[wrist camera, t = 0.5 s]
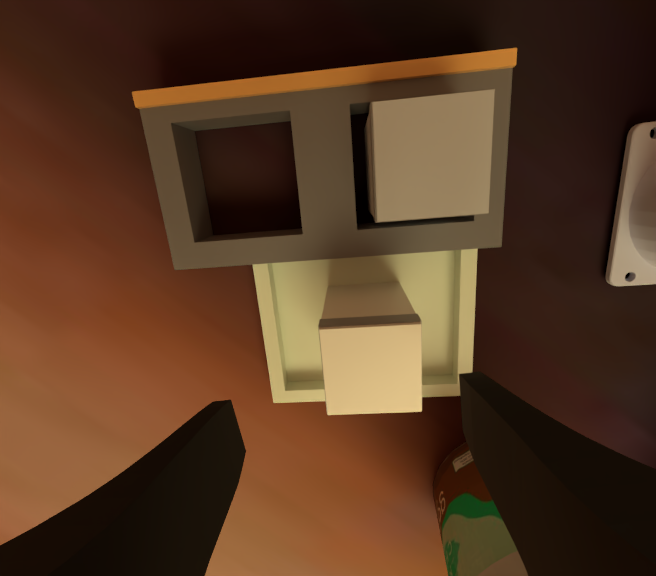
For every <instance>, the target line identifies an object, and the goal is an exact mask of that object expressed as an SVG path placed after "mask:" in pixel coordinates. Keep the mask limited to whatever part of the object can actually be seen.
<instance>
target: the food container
mask: <svg viewBox="0 0 656 576" xmlns="http://www.w3.org/2000/svg"><path fill="white" fill-rule="evenodd" d="M433 497H434V502H435V507H436V513H437V518H438V523H439V529H440V534H441V539H442V544H443V550H444V555H445V560H446V565H447V571H448V576H528V574H527V571H526V569H525V566H524V564H523V562H522V559H521V557H520V555H519V553H518V551H517V548H516V546H515V544H514V542H513V540H512V538H511V536H510V534H509V532H508V530H507V528H506V526H505V524H504V522H503V520H502V518H501V516H500V514H499V512H498V510H497V508H496V506H495V504H494V502H493V500H492V498H491V496H490V494H489V492H488V490H487V488H486V486H485V484H484V482H483V479H482V477H481V475H480V473H479V471H478V469H477V467H476V465H475V463H474V460H473V458H472V455H471V452H470V450H469V447H468V444H467V442H465V443H464V444H462V445H461V446H459V447H458V448H456V449H455V450H453V451H452V452H451V453H450V454H449V456H448V457H447V458H446V459H445V460H444V461H443V463H442V464H441V465H440V466H439V468H438V471H437V474H436V477H435V479H434V482H433Z"/></svg>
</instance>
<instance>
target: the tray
mask: <svg viewBox="0 0 656 576" xmlns="http://www.w3.org/2000/svg"><path fill="white" fill-rule="evenodd" d="M253 271H254V277H255V284H256V291H257V297H258V304H259V310H260V317H261V324H262V330H263V337H264V343H265V350H266V357H267V363H268V370H269V376H270V383H271V390H272V396H273V403H286V402H312V401H326V400H325V390H324V380H323V370H322V360H321V350H320V340H319V330H318V325H319V320H320V319H321V318H322V313H323V308H324V303H325V297H326V292H327V287H328V286H340V285H356V284H371V283H386V282H400V284H401V286H402V288H403V290H404V292H405V294H406V296H407V297H408V299H409V301H410V303H411V305H412V307H413V309H414V311H415V313H416V314H418V315H419V317H420V319H421V321H422V397H441V396H460V383H459V374H463V373H472V367H473V344H474V320H475V296H476V272H477V249H464V250H450V251H436V252H422V253H408V254H394V255H380V256H366V257H352V258H338V259H324V260H309V261H295V262H281V263H267V264H253Z"/></svg>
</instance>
